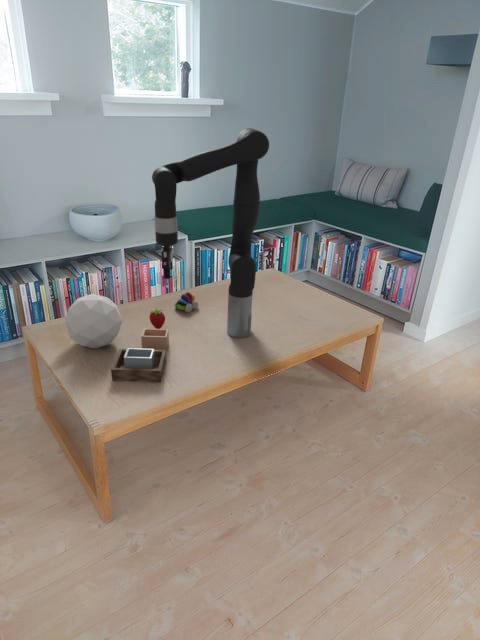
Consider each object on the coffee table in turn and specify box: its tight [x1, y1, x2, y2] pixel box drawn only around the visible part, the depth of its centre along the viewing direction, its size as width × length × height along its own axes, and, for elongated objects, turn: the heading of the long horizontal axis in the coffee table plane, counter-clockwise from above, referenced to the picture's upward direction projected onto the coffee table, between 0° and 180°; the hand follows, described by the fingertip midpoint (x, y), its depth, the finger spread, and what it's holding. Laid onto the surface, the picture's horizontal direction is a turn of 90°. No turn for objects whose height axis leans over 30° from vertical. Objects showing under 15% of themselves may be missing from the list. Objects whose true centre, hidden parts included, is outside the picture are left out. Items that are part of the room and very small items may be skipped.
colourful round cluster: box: [173, 291, 199, 313], centre depth 201 cm, size 8×10×7 cm
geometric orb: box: [64, 293, 123, 349], centre depth 168 cm, size 19×20×20 cm
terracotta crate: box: [140, 328, 170, 352], centre depth 171 cm, size 9×6×6 cm, turn 91°
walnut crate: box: [110, 348, 167, 383], centre depth 157 cm, size 16×13×4 cm
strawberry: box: [148, 308, 166, 329], centre depth 182 cm, size 6×8×10 cm
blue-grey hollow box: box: [124, 347, 155, 369], centre depth 156 cm, size 9×6×6 cm, turn 91°
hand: (168, 273), depth 165 cm, fingers open, 8 cm apart
